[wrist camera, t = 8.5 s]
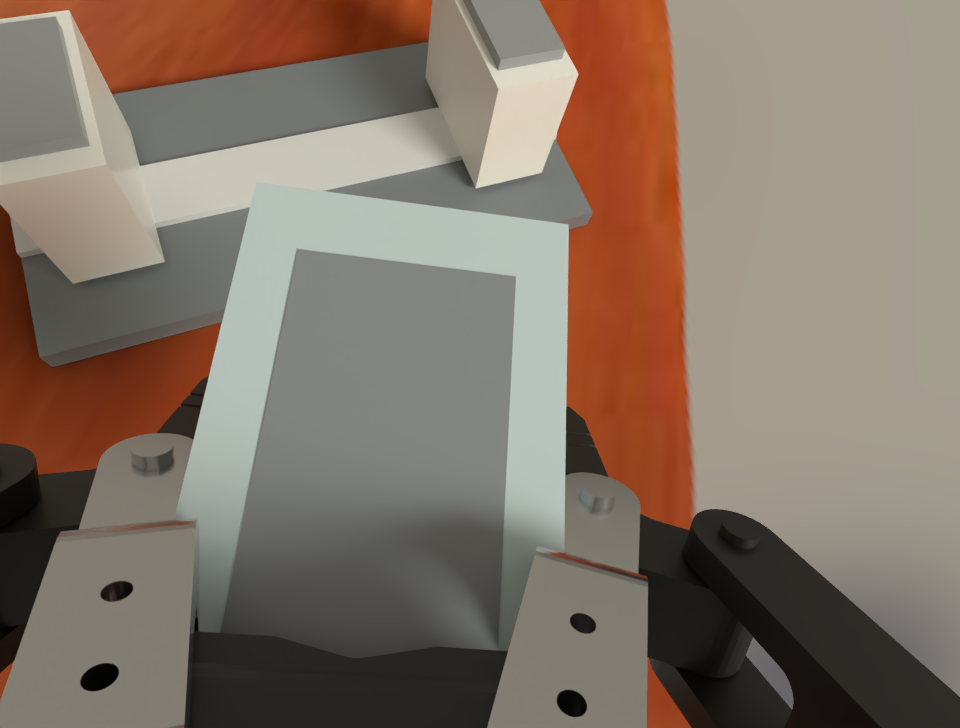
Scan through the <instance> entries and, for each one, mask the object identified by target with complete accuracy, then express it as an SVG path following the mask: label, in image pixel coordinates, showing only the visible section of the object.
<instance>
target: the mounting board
mask: <svg viewBox="0 0 960 728" xmlns="http://www.w3.org/2000/svg"><path fill="white" fill-rule="evenodd" d="M428 43H429V42H425V43H419V44H413V45H407V46H401V47H395V48H389V49H383V50H376V51H370V52H364V53H358V54H352V55H346V56H340V57H334V58H328V59H322V60H316V61H310V62H304V63H298V64H292V65H286V66H280V67H274V68H268V69H262V70H256V71H250V72H244V73H238V74H232V75H226V76H219V77H213V78H207V79H201V80H195V81H189V82H183V83H177V84H171V85H165V86H159V87H153V88H147V89H141V90H135V91H129V92H123V93H117V94H112V95H113V97H114V99H115V101H116V103H117V105H118V107H119V109H120V111H121V113H122V115H123V117H124V119H125V121H126V123H127V125H128V127H129V129H130V131H131V134H132V138H133V142H134V146H135V149H136V153H137V157H138V161H139V165H140V168H141V172H142V176H143V180H144V184H145V188H146V191H147V195H148V199H149V203H150V207H151V210H152V214H153V218H154V222H155V226H156V230H157V233H158V237H159V241H160V245H161V249H162V252H163V256H164V260H165V262H163V263H158V264H154V265H150V266H146V267H142V268H137V269H133V270H129V271H125V272H120V273H116V274H112V275H108V276H104V277H99V278H95V279H91V280H87V281H82V282H78V283H74V284H73V283H72V282H71V281H70V280H69V279H68V278H67V277H66V276H65V275H64V274H63V272H62V271H61V270H60V269H59V268H58V267H57V266H56V265H55V264H54V263H53V262H52V260H51V259H50V258H49V257H48V256H47V255H46V254H45V253H44V252H43V251H42V250H41V248H40V247H39V246H38V245H37V244H36V243H35V242H34V241H33V240H32V239H31V238H30V237H29V235H28V234H27V233H26V232H25V231H24V230H23V229H22V228H21V227H20V226H19V225H18V223H17V222H16V221H15V220H14V219H13V218H12V217H11V216H10V219H11V225H12V230H13V236H14V241H15V247H16V252H17V254H18V255H19V256H20V257H21V260H22V265H23V271H24V276H25V282H26V287H27V293H28V298H29V303H30V309H31V314H32V320H33V325H34V331H35V336H36V342H37V347H38V353H39V358H41V359H42V360H43V361H45V362H46V363H47V364H49V365H50V366H51V367H56V366H59V365H63V364H67V363H71V362H74V361H78V360H82V359H86V358H89V357H93V356H97V355H101V354H104V353H108V352H112V351H116V350H119V349H123V348H127V347H130V346H134V345H138V344H142V343H145V342H149V341H153V340H157V339H160V338H164V337H168V336H172V335H175V334H179V333H183V332H187V331H190V330H194V329H198V328H202V327H205V326H209V325H213V324H217V323H220V322H222V321H223V316H224V312H225V308H226V304H227V300H228V296H229V292H230V288H231V283H232V279H233V275H234V271H235V267H236V263H237V259H238V255H239V251H240V246H241V242H242V238H243V234H244V230H245V226H246V222H247V218H248V213H249V209H250V205H251V201H252V197H253V193H254V189H255V185H256V182H260V183H267V184H275V185H282V186H290V187H297V188H304V189H312V190H319V191H326V192H334V193H341V194H348V195H356V196H363V197H371V198H378V199H385V200H393V201H400V202H407V203H415V204H422V205H430V206H437V207H444V208H452V209H459V210H466V211H474V212H481V213H488V214H496V215H503V216H511V217H518V218H525V219H533V220H540V221H547V222H555V223H562V224H569V229H573V228H576V227H580V226H584V225H587V223H588V221H589V219H590V217H591V216H592V214H593V211H592V209H591V207H590V206H589V204H588V202H587V200H586V198H585V196H584V194H583V192H582V190H581V188H580V186H579V184H578V182H577V180H576V178H575V176H574V174H573V173H572V171H571V169H570V167H569V165H568V163H567V161H566V159H565V157H564V155H563V153H562V151H561V149H560V147H559V145H558V143H557V141H556V140H555V139H556V137H557V133H556V136H555V138H554V141H553V144H552V146H551V149H550V152H549V154H548V157H547V160H546V162H545V165H544V168H543V171H542V173H539V174H535V175H530V176H526V177H522V178H518V179H513V180H509V181H505V182H501V183H497V184H492V185H488V186H484V187H480V188H475V186H474V183H473V181H472V179H471V177H470V175H469V172H468V170H467V168H466V166H465V164H464V161H463V159H462V157H461V155H460V153H459V150H458V148H457V146H456V144H455V142H454V139H453V137H452V135H451V133H450V131H449V128H448V126H447V124H446V122H445V120H444V117H443V115H442V113H441V111H440V109H439V106H438V104H437V102H436V100H435V98H434V95H433V93H432V91H431V89H430V87H429V84H428V82H427V80H426V78H425V77H426V66H427V55H428Z"/></svg>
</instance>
